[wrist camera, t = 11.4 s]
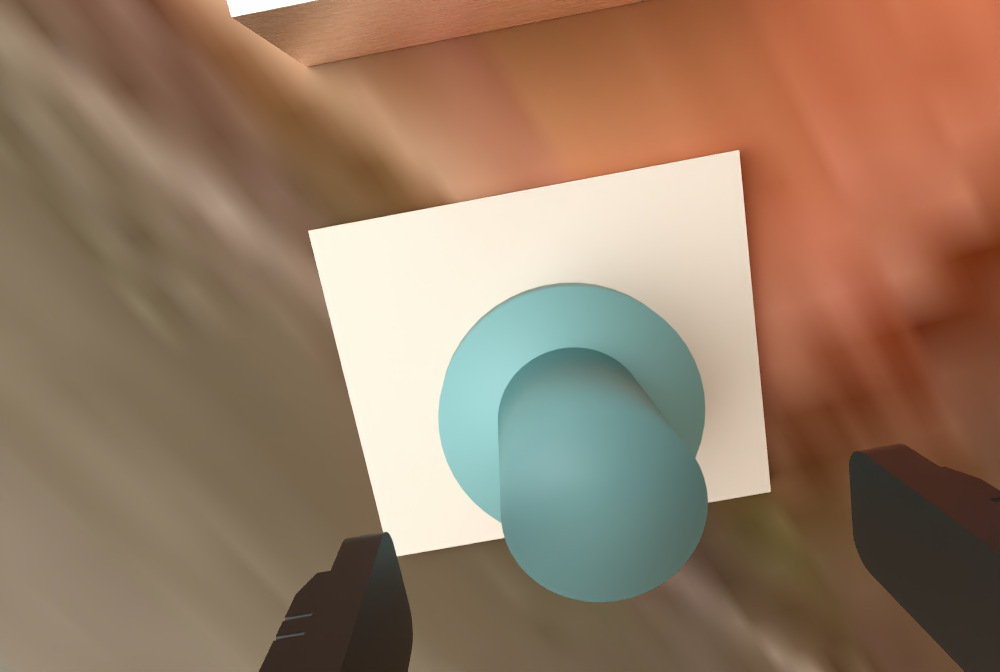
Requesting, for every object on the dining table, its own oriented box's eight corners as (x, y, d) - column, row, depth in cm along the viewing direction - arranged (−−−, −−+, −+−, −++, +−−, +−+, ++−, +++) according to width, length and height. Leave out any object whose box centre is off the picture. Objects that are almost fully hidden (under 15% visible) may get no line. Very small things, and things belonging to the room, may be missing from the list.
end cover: (641, 245, 21) (768, 290, 11) (674, 445, 22) (809, 633, 13) (427, 291, 21) (375, 373, 12) (474, 487, 23) (463, 700, 13)
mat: (729, 151, 21) (739, 150, 20) (761, 481, 24) (770, 491, 23) (314, 229, 21) (308, 231, 20) (392, 545, 24) (389, 557, 23)
